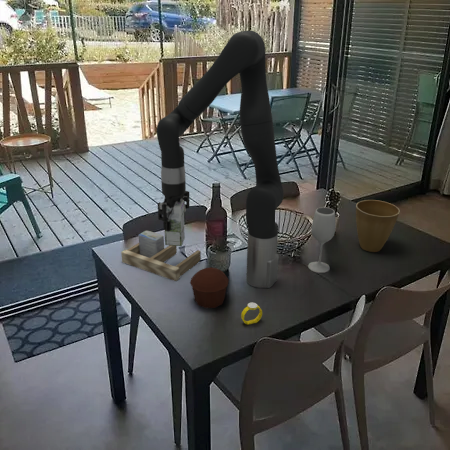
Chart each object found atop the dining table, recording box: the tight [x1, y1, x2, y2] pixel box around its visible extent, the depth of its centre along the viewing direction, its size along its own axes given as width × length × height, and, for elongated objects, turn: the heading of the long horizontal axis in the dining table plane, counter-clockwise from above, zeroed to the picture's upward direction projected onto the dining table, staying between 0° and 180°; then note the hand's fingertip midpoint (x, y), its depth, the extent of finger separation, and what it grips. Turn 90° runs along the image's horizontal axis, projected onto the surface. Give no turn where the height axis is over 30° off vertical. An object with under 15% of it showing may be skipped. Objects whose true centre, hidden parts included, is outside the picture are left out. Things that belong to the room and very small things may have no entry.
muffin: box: [189, 266, 230, 309], centre depth 144 cm, size 12×11×10 cm
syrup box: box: [164, 200, 186, 247], centre depth 158 cm, size 6×6×14 cm
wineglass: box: [307, 206, 336, 274], centre depth 160 cm, size 8×8×21 cm
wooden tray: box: [120, 242, 202, 282], centre depth 166 cm, size 23×15×4 cm, turn 59°
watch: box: [240, 301, 263, 325], centre depth 136 cm, size 6×3×6 cm, turn 113°
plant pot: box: [355, 199, 401, 253], centre depth 175 cm, size 15×15×16 cm
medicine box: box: [137, 230, 165, 258], centre depth 168 cm, size 8×4×9 cm, turn 58°
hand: (174, 226), depth 159 cm, fingers closed on syrup box, 7 cm apart
